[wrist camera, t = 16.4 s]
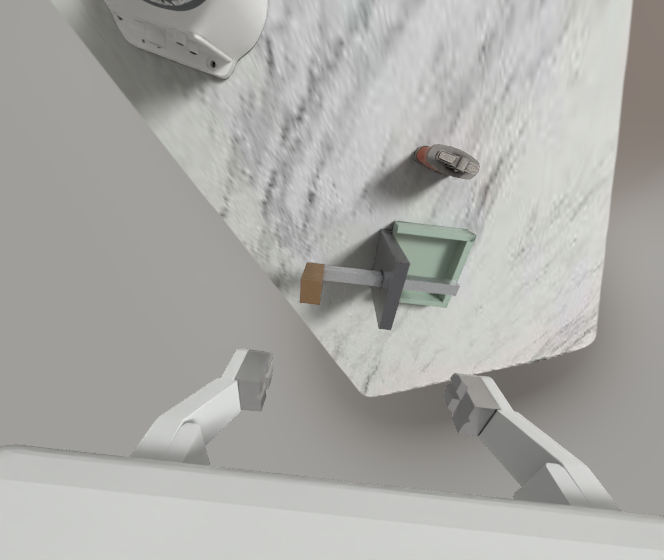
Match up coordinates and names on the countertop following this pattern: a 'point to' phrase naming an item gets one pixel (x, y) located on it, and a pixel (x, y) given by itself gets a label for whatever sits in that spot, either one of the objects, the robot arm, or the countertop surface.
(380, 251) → the bearing plate
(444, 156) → the lighter
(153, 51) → the robot arm
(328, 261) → the countertop surface
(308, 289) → the shaft
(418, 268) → the tray
